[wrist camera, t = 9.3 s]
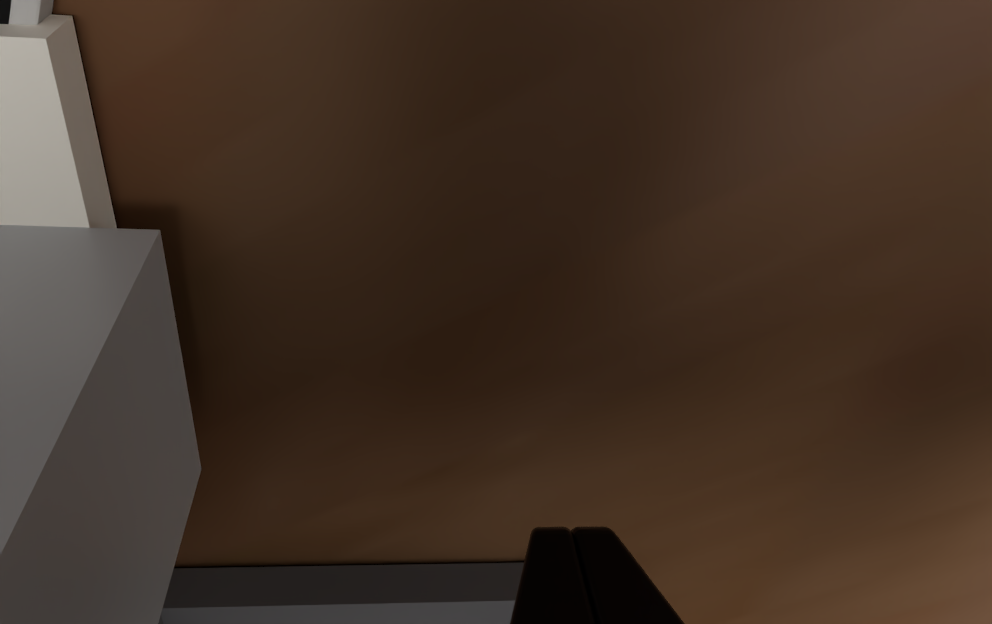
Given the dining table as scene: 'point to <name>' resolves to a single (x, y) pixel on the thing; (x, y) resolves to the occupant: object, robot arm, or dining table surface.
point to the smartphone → (24, 11)
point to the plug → (90, 427)
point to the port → (48, 131)
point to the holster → (344, 594)
